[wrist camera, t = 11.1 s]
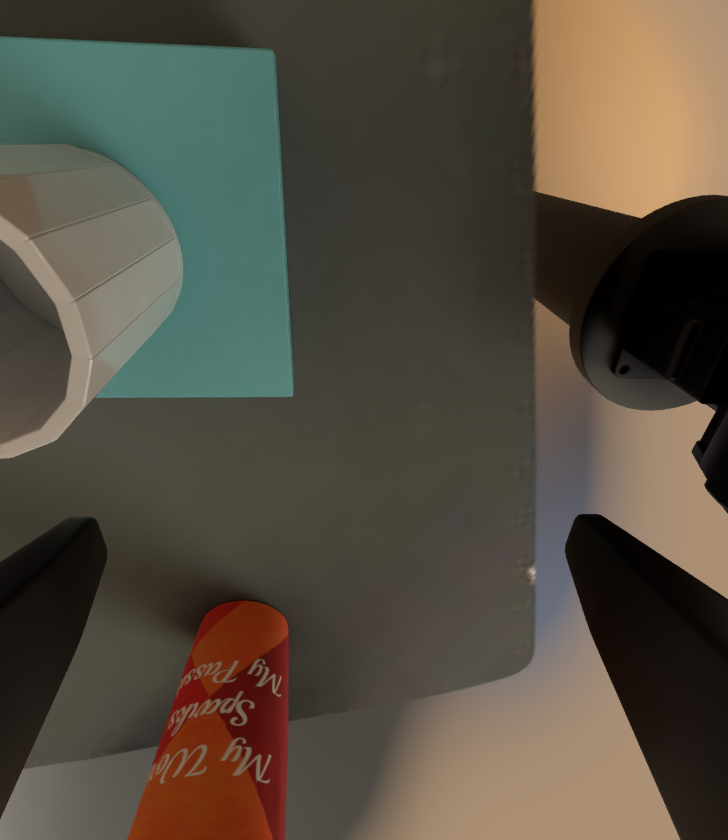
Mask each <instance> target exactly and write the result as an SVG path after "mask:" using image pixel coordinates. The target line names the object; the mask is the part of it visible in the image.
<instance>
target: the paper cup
mask: <svg viewBox="0 0 728 840" xmlns="http://www.w3.org/2000/svg"><path fill="white" fill-rule="evenodd" d="M288 665H289V637H288V625H287V621H286V619H285V618H284V616H283V615H282V614H281V613H280V612H279V611H277V610H276V609H274V608H273V607H271V606H268V605H266V604H263V603H259V602H254V601H232V602H227V603H224V604H221V605H218V606H216V607H214V608H213V609H211V610H210V611H209V612H208V613H207V614H206V615H205V617H204V618H203V620H202V623H201V625H200V628H199V630H198V633H197V635H196V638H195V641H194V644H193V647H192V649H191V652H190V655H189V658H188V661H187V664H186V667H185V670H184V673H183V676H182V679H181V682H180V684H179V687H178V690H177V693H176V696H175V699H174V702H173V705H172V708H171V711H170V714H169V717H168V720H167V723H166V726H165V729H164V732H163V735H162V738H161V741H160V744H159V747H158V750H157V753H156V756H155V759H154V762H153V765H152V768H151V771H150V774H149V777H148V780H147V783H146V786H145V789H144V792H143V795H142V798H141V801H140V804H139V807H138V810H137V813H136V816H135V819H134V822H133V825H132V828H131V831H130V834H129V836H128V839H127V840H285V819H286V784H287V783H286V782H287V757H288Z"/></svg>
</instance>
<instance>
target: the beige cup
mask: <svg viewBox="0 0 728 840" xmlns="http://www.w3.org/2000/svg"><path fill="white" fill-rule="evenodd" d="M182 283H183V258H182V252H181V248H180V244H179V240H178V238H177V235H176V232H175V229H174V227H173V225H172V223H171V221H170V219H169V217H168V215H167V214H166V212H165V211H164V209H163V207H162V206H161V204H160V203H159V202H158V200H157V199H156V198H155V197H154V195H153V194H152V193H151V191H150V190H149V189H148V188H147V187H146V186H145V185H144V184H143V183H142V182H141V181H140V180H139V179H137V178H136V177H135V176H134V175H133V174H131V173H130V172H129V171H128V170H126V169H125V168H123V167H122V166H120V165H119V164H117V163H116V162H114V161H113V160H111V159H109V158H107V157H105V156H103V155H101V154H99V153H96V152H94V151H91V150H88V149H86V148H82V147H78V146H74V145H69V144H59V143H0V458H12V457H15V456H18V455H20V454H23V453H25V452H28V451H30V450H33V449H36V448H38V447H41V446H43V445H46V444H49V443H51V442H54V441H55V440H57V439H58V438H59V437H60V436H61V435H62V434H63V432H64V431H65V430H66V429H67V428H68V427H69V426H70V425H71V424H72V423H73V422H74V420H75V419H76V418H77V417H78V416H79V415H80V414H81V413H82V412H83V411H84V409H85V408H86V407H87V406H88V405H89V404H90V403H91V402H92V401H93V400H94V398H95V397H96V396H97V395H98V394H99V393H100V392H101V391H102V390H103V389H104V388H105V386H106V385H107V384H108V383H109V382H110V381H111V380H112V379H113V378H114V377H115V375H116V374H117V373H118V372H119V371H120V370H121V369H122V368H123V367H124V366H125V364H126V363H127V362H128V361H129V360H130V359H131V358H132V357H133V356H134V355H135V354H136V352H137V351H138V350H139V349H140V348H141V347H142V346H143V345H144V344H145V343H146V341H147V340H148V339H149V338H150V337H151V336H152V335H153V334H154V333H155V331H156V330H157V329H158V328H159V327H160V326H161V325H162V323H163V322H164V321H165V320H166V319H167V318H168V317H169V315H170V314H171V313H172V311H173V309H174V307H175V305H176V303H177V301H178V299H179V296H180V293H181V288H182Z"/></svg>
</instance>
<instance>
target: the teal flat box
mask: <svg viewBox="0 0 728 840" xmlns="http://www.w3.org/2000/svg"><path fill="white" fill-rule="evenodd" d="M0 143H59V144H69V145H74V146H78V147H82V148H86V149H88V150H91V151H94V152H96V153H99V154H101V155H103V156H105V157H107V158H109V159H111V160H113V161H114V162H116V163H117V164H119V165H120V166H122V167H123V168H125V169H126V170H128V171H129V172H130V173H131V174H133V175H134V176H135V177H136V178H137V179H139V180H140V181H141V182H142V183H143V184H144V185H145V186H146V187H147V188H148V189H149V190H150V191H151V193H152V194H153V195H154V197H155V198H156V199H157V200H158V202H159V203H160V204H161V206H162V207H163V209H164V211H165V212H166V214H167V215H168V217H169V219H170V221H171V223H172V225H173V227H174V229H175V232H176V235H177V238H178V240H179V244H180V248H181V252H182V258H183V283H182V288H181V293H180V296H179V299H178V301H177V303H176V305H175V307H174V309H173V311H172V313H171V314H170V315H169V317H168V318H167V319H166V320H165V321H164V322H163V323H162V325H161V326H160V327H159V328H158V329H157V330H156V331H155V333H154V334H153V335H152V336H151V337H150V338H149V339H148V340H147V341H146V343H145V344H144V345H143V346H142V347H141V348H140V349H139V350H138V351H137V352H136V354H135V355H134V356H133V357H132V358H131V359H130V360H129V361H128V362H127V363H126V364H125V366H124V367H123V368H122V369H121V370H120V371H119V372H118V373H117V374H116V375H115V377H114V378H113V379H112V380H111V381H110V382H109V383H108V384H107V385H106V386H105V388H104V389H103V390H102V391H101V392H100V393H99V394H98V395H97V396H96V397H95V398H127V397H292V396H293V392H294V379H293V361H292V343H291V325H290V307H289V289H288V271H287V253H286V235H285V217H284V199H283V181H282V163H281V145H280V127H279V109H278V90H277V72H276V55H275V53H274V51H273V50H272V49H270V48H248V47H227V46H205V45H183V44H161V43H140V42H118V41H96V40H74V39H53V38H31V37H9V36H0Z"/></svg>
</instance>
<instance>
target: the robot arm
mask: <svg viewBox="0 0 728 840" xmlns="http://www.w3.org/2000/svg"><path fill="white" fill-rule="evenodd" d="M661 257H662V261H661V263H660V264H659V265H658V266H656V262H657V260H658V259H660V258H661ZM618 344H619V345H618V348H617V351H616V354H615V357H614V360H613V363H612V366H611V372H612V373H613V374H614V375H615V376H617V377H618V378H664V379H665V380H669V381H670V382H672V383H673V384H675V385H676V386H677V387H679V388H680V389H682V390H683V391H684V392H686V393H687V394H689V395H690V396H691V397H693V398H694V399H696V400H697V401H698V402H700V403H702V404H706V405H708V406H709V407H711V408H712V409H713V410H715V411H716V412H715V414H714V416H713V418H712V419H711V422H710V423H709V425H708V427H707V429H706V431H705V433H704V435H703V436H702V438H701V440H700V441H697V442H696V444H695V446H694V447H693V450H692V454H693V455H694V457H695V459H696V461H697V462H698V464H699V466H700V468H701V470H702V471H703V473H704V475H705V477H706V478H707V481H706V483H705V484H704V485H705V488H706V489H707V491H708V492H709V493H710V495H711V496H712V497H713V498H714V499H715V500H716V501H717V502H718V503H719V504H720V505H722V507H723V508H724V509H725V510H726V512H727V513H728V251H698V250H657V251H654V252H653V253H651V254H650V255H649V256H648V258H647V260H646V263H645V266H644V269H643V272H642V275H641V278H640V281H639V284H638V287H637V290H636V293H635V296H634V297H633V299H632V302H631V305H630V308H629V311H628V314H627V317H626V320H625V323H624V326H623V329H622V332H621V335H620V338H619V341H618ZM622 366H625V367H624V369H623V370H621V371H619V370H620V368H621V367H622ZM565 554H566V559H567V562H568V565H569V568H570V571H571V574H572V577H573V581H574V584H575V587H576V590H577V593H578V596H579V599H580V602H581V605H582V609H583V612H584V615H585V618H586V621H587V624H588V627H589V630H590V632H591V635H592V637H593V640H594V642H595V645H596V647H597V649H598V652H599V654H600V656H601V658H602V661H603V663H604V665H605V668H606V670H607V672H608V675H609V677H610V679H611V681H612V684H613V686H614V688H615V691H616V693H617V695H618V697H619V700H620V702H621V704H622V707H623V709H624V711H625V713H626V716H627V718H628V720H629V723H630V725H631V727H632V729H633V732H634V734H635V737H636V739H637V741H638V743H639V746H640V748H641V750H642V753H643V755H644V757H645V759H646V762H647V764H648V766H649V769H650V771H651V773H652V776H653V778H654V780H655V782H656V785H657V787H658V789H659V792H660V794H661V796H662V798H663V801H664V803H665V805H666V808H667V810H668V812H669V814H670V817H671V819H672V821H673V824H674V826H675V828H676V830H677V833H678V835H679V838H680V839H681V840H728V599H727V598H725V597H724V596H722V595H721V594H719V593H718V592H716V591H715V590H713V589H712V588H710V587H708V586H707V585H706V584H704V583H703V582H701V581H700V580H698V579H697V578H695V577H694V576H692V575H691V574H689V573H688V572H686V571H685V570H683V569H682V568H680V567H679V566H677V565H675V564H674V563H672V562H671V561H669V560H668V559H666V558H665V557H663V556H662V555H661V554H659V553H657V552H656V551H655V550H653V549H652V548H650V547H648V546H647V545H645V544H644V543H642V542H641V541H639V540H638V539H636V538H635V537H633V536H632V535H630V534H629V533H627V532H626V531H624V530H623V529H621V528H620V527H618V526H617V525H615V524H614V523H612V522H611V521H609V520H608V519H606V518H605V517H603V516H602V515H598V514H580V515H578V516H577V517H576V518H575V520H574V523H573V525H572V528H571V531H570V533H569V536H568V539H567V542H566V545H565ZM106 561H107V548H106V545H105V542H104V539H103V536H102V533H101V530H100V527H99V525H98V522H97V520H96V519H95V518H93V517H70V518H68V519H66V520H64V521H62V522H61V523H59V524H58V525H56V526H55V527H53V528H52V529H50V530H49V531H47V532H46V533H44V534H42V535H41V536H39V537H38V538H36V539H35V540H33V541H32V542H30V543H29V544H27V545H26V546H24V547H22V548H21V549H19V550H18V551H16V552H15V553H13V554H12V555H10V556H9V557H7V558H6V559H4V560H2V561H1V562H0V818H1V816H2V814H3V812H4V809H5V807H6V805H7V803H8V800H9V798H10V796H11V794H12V792H13V789H14V787H15V785H16V782H17V780H18V778H19V776H20V774H21V772H22V769H23V767H24V765H25V763H26V761H27V758H28V756H29V754H30V752H31V749H32V747H33V745H34V743H35V741H36V738H37V736H38V734H39V732H40V730H41V727H42V725H43V723H44V721H45V718H46V716H47V714H48V712H49V710H50V707H51V705H52V703H53V701H54V698H55V696H56V694H57V692H58V690H59V687H60V685H61V683H62V681H63V678H64V676H65V674H66V672H67V670H68V667H69V665H70V663H71V661H72V658H73V656H74V654H75V652H76V649H77V647H78V644H79V642H80V639H81V637H82V634H83V631H84V628H85V625H86V622H87V619H88V616H89V613H90V610H91V607H92V604H93V601H94V598H95V595H96V592H97V589H98V586H99V582H100V579H101V576H102V573H103V570H104V567H105V564H106Z"/></svg>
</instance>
